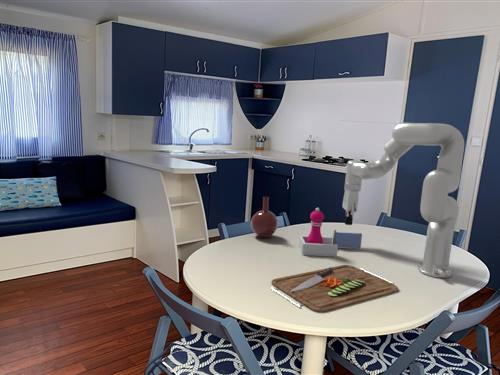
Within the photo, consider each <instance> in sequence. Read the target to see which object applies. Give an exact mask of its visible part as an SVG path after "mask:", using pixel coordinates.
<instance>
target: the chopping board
mask: <svg viewBox="0 0 500 375" xmlns="http://www.w3.org/2000/svg"><path fill="white" fill-rule="evenodd" d="M271 285H272V286H273V287H274V288H273V287H270V290H271V291H272V292H274V293H276V294H277V295H278V296H280V297H282V298H283V299H285V300H286V301H288V302H289V303H291V304H292V305H294V306H295V307H297V308H298V309H301V308H302V307H303V306H304V307H305V308H307V309H308V310H310V311H312V312H315V313H326V312H330V311H333V310H337V309H341V308H344V307H348V306H352V305H356V304H358V303H359V304H360V303H364V302H366V301H369V300H374V299H377V298H380V297H384V296H385V297H386V296H388V295H392V294H395V293H398V292H399V287H398V286H396V285H395V283H394V282H393V281H391V280H389V279H387V278H383V277H382V276H380V275H377V274H375V273H373V272H371V271H368V270H366V269H363V268H362V267H361V268H358V267H355V266H353V265H351V264H350V265H349V264H342V265H338V266H337V265H336V266H331V267H327V268H322V269H318V270H316V269H315V270H311V271H308V272H307V271H306V272H301V273H297V274H291V275H289V276H282V277H278V278H274V279H272V280H271ZM278 290H279V291H280V292H279V291H278ZM281 292H282V293H281ZM283 293H284V294H285V295H287V296H288V297H287V296H285V295H284V294H283ZM289 297H290V298H289ZM293 300H294V301H293ZM295 301H296V302H298V303H299V304H298V303H296V302H295Z"/></svg>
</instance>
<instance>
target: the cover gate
mask: <svg viewBox="0 0 500 375" xmlns="http://www.w3.org/2000/svg"><path fill="white" fill-rule="evenodd" d="M362 236H363V233H360V232H345V231H344V232H343V231H342V232H339V231H337V229H333V235H332V244H335V245H338V248H343V249H345V248H346V249H361V248H362V247H361V246H362Z"/></svg>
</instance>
